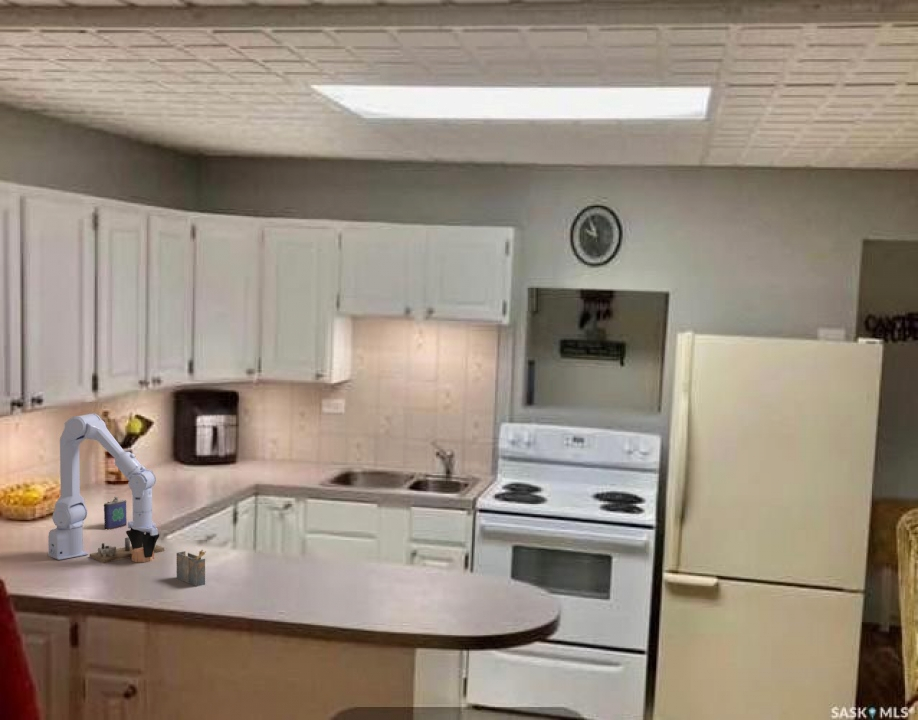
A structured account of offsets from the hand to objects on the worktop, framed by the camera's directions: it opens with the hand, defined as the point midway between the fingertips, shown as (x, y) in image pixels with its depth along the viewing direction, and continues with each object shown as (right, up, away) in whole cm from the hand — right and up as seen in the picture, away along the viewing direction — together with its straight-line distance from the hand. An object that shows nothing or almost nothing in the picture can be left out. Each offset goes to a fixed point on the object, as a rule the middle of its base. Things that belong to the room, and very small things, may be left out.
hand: (142, 555), depth 288 cm
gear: (0, -1, 0) cm, 1 cm away
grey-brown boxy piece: (+21, -3, -22) cm, 31 cm away
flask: (-24, +1, +43) cm, 49 cm away
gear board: (-7, -1, +7) cm, 10 cm away
